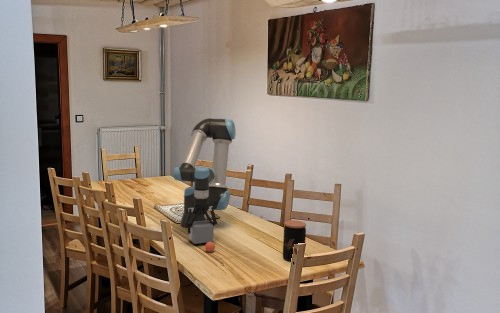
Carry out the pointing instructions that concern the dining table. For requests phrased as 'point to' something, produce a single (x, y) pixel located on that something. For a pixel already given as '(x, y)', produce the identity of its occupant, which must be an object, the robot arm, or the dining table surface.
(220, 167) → the robot arm
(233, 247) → the dining table surface
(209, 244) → the ball
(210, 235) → the rounded grey cube
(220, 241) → the dining table surface
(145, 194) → the dining table surface
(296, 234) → the coffee jar
